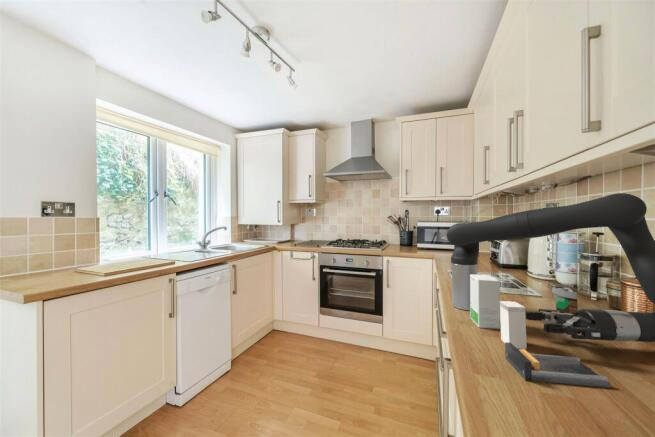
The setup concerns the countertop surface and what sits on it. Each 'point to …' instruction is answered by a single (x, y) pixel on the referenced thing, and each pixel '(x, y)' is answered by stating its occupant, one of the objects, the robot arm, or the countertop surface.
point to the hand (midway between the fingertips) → (534, 321)
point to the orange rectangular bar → (534, 362)
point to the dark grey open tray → (554, 369)
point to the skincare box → (485, 301)
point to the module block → (513, 324)
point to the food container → (565, 298)
